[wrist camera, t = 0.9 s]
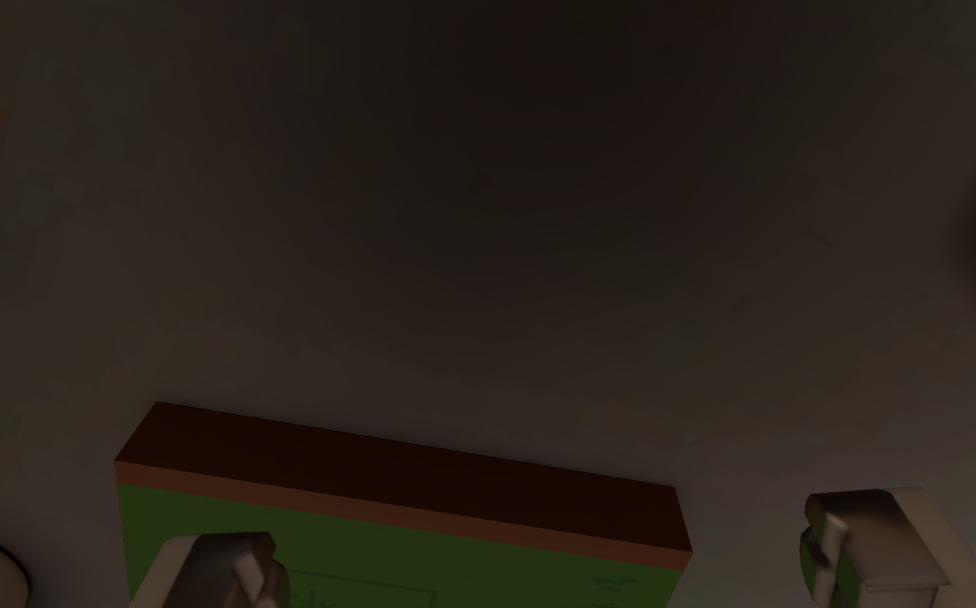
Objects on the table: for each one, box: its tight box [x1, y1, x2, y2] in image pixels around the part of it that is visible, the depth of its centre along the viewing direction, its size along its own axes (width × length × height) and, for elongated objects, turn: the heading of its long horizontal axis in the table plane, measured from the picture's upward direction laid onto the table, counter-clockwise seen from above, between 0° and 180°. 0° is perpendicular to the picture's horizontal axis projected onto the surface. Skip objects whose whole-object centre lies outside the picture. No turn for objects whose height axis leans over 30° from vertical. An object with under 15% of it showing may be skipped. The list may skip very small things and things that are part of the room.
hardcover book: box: [114, 402, 693, 608], centre depth 34 cm, size 25×19×4 cm
